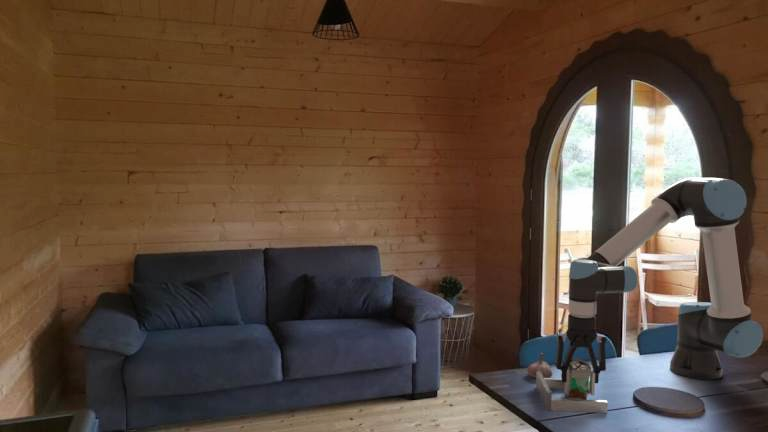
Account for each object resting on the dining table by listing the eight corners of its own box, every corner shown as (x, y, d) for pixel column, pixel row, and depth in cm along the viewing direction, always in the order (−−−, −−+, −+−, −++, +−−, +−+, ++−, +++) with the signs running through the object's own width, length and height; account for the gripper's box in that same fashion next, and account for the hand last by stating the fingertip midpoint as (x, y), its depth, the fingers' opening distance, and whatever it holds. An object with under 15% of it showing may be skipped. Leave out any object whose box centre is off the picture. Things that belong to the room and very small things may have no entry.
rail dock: (590, 389, 179) (591, 373, 179) (607, 412, 162) (607, 395, 162) (536, 387, 181) (536, 371, 180) (546, 410, 164) (547, 392, 163)
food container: (593, 407, 165) (595, 372, 164) (570, 405, 166) (571, 370, 165) (587, 391, 177) (588, 358, 176) (566, 389, 178) (567, 356, 177)
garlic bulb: (556, 378, 188) (557, 354, 188) (540, 382, 185) (540, 357, 184) (539, 371, 195) (540, 347, 194) (522, 375, 191) (523, 351, 191)
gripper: (612, 312, 172) (609, 389, 174) (545, 310, 174) (542, 387, 176) (621, 318, 165) (617, 399, 167) (550, 316, 166) (547, 397, 168)
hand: (579, 393), depth 171 cm, fingers closed on food container, 6 cm apart
